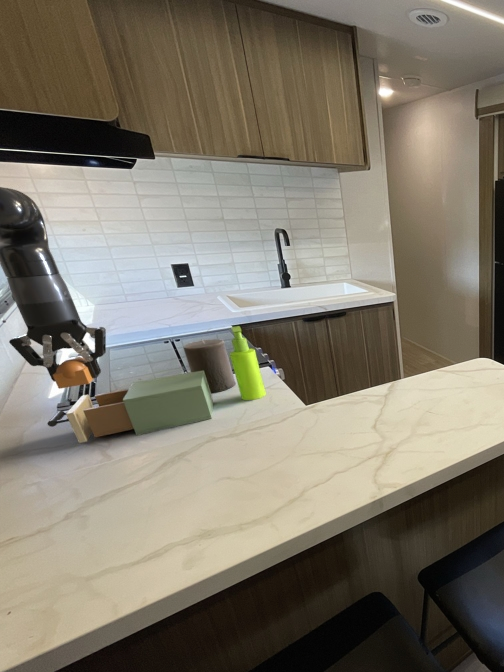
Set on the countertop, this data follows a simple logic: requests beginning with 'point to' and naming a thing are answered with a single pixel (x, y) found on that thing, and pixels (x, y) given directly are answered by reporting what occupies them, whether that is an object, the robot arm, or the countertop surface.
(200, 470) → the countertop surface
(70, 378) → the orange domed block
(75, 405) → the drawer
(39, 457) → the countertop surface
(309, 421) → the countertop surface
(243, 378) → the soap dispenser
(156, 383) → the cabinet
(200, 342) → the pillar candle
